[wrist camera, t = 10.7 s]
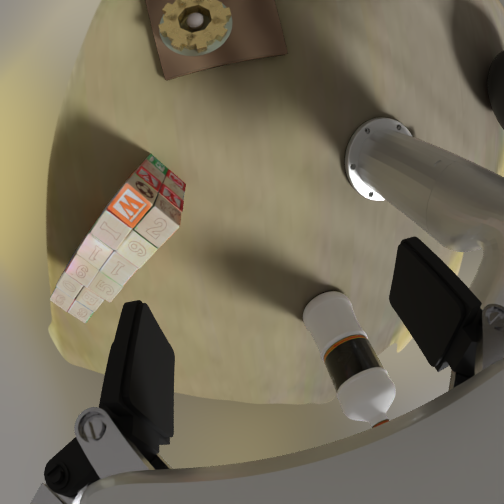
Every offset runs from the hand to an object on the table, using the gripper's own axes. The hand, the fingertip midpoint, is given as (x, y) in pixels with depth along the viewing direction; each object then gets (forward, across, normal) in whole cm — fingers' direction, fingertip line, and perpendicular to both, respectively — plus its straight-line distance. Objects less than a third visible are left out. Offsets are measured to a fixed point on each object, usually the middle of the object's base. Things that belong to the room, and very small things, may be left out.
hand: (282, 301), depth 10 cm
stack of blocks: (+27, +17, +6) cm, 33 cm away
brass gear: (+25, +1, -16) cm, 30 cm away
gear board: (+27, -1, -19) cm, 33 cm away
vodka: (+28, -12, +31) cm, 43 cm away
